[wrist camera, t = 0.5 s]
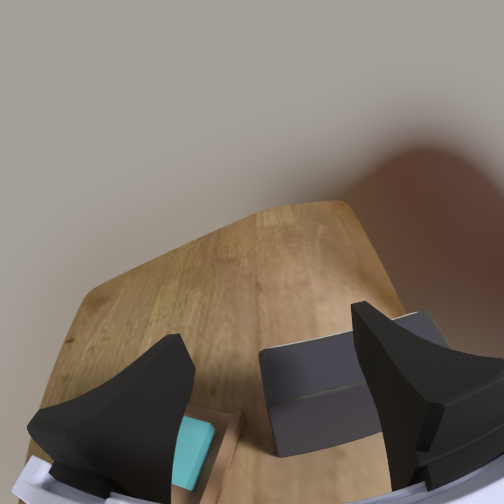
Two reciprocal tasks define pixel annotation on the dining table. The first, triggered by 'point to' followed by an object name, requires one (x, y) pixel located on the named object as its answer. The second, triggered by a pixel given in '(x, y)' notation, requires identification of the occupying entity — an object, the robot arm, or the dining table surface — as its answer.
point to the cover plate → (191, 451)
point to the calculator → (325, 389)
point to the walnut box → (212, 455)
